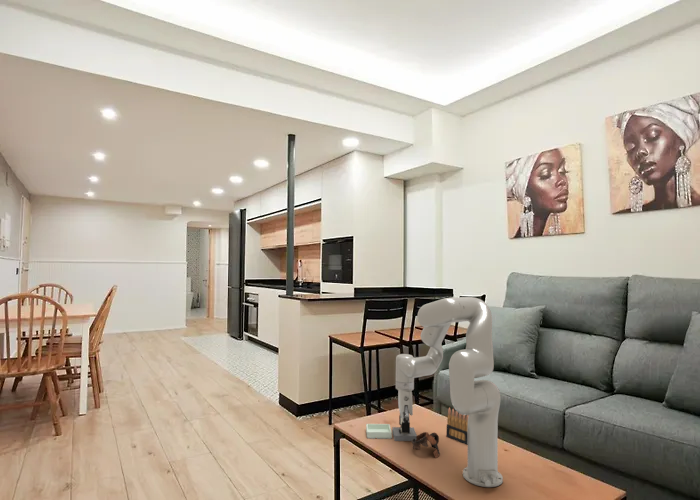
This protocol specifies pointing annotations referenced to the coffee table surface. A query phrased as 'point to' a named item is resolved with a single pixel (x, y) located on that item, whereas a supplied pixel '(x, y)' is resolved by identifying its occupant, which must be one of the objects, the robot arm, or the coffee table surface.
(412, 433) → the socket block
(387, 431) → the parts tray
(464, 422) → the ammunition clip
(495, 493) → the coffee table surface
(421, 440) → the pottery mug
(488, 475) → the robot arm
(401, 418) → the cylinder
